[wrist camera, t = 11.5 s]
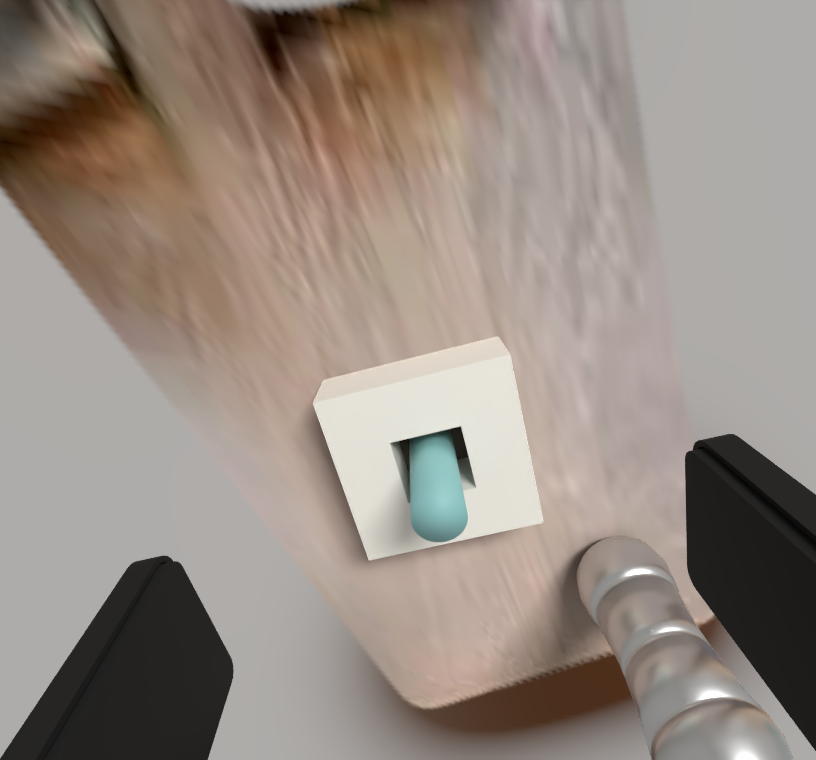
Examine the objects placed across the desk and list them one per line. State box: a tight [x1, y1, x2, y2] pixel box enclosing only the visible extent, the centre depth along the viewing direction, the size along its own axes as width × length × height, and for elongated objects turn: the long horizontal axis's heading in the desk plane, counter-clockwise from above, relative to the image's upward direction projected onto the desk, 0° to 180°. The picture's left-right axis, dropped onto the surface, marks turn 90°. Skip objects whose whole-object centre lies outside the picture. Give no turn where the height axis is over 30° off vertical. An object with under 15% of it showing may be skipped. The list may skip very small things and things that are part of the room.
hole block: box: [313, 336, 544, 560], centre depth 33 cm, size 12×12×4 cm
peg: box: [409, 429, 468, 542], centre depth 30 cm, size 3×3×10 cm
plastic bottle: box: [576, 536, 794, 760], centre depth 29 cm, size 6×7×20 cm
